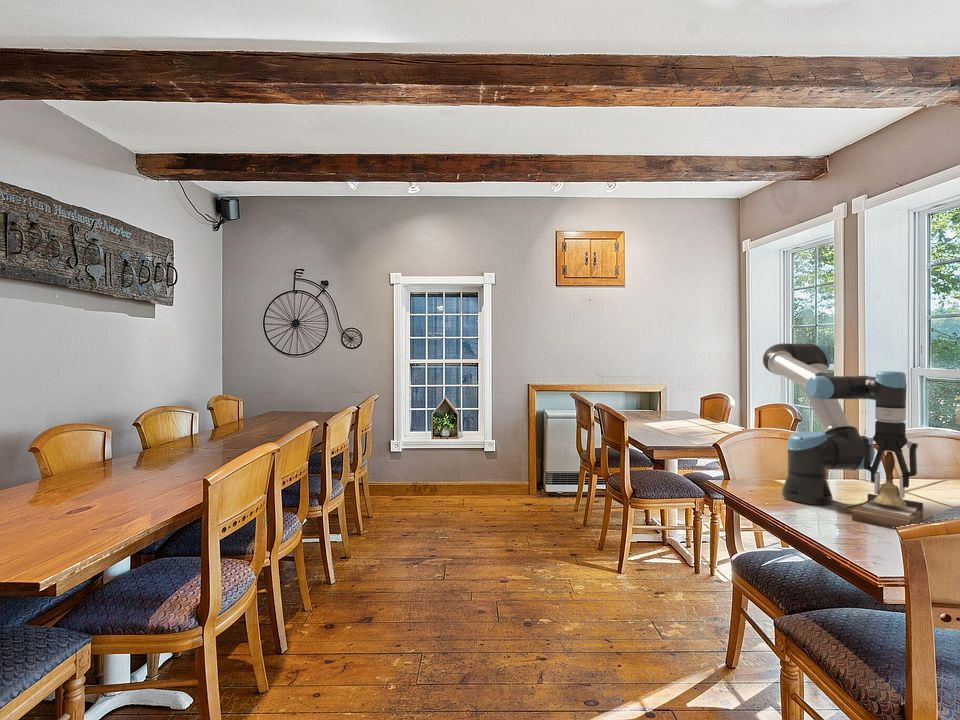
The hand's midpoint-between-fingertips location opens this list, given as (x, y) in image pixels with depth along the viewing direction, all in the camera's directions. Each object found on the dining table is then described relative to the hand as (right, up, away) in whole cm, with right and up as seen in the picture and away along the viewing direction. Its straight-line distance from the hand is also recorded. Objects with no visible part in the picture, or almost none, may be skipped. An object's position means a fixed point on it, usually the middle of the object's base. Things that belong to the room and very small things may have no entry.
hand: (889, 495), depth 166 cm
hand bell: (0, -3, 0) cm, 3 cm away
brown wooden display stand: (-2, -7, -1) cm, 7 cm away
